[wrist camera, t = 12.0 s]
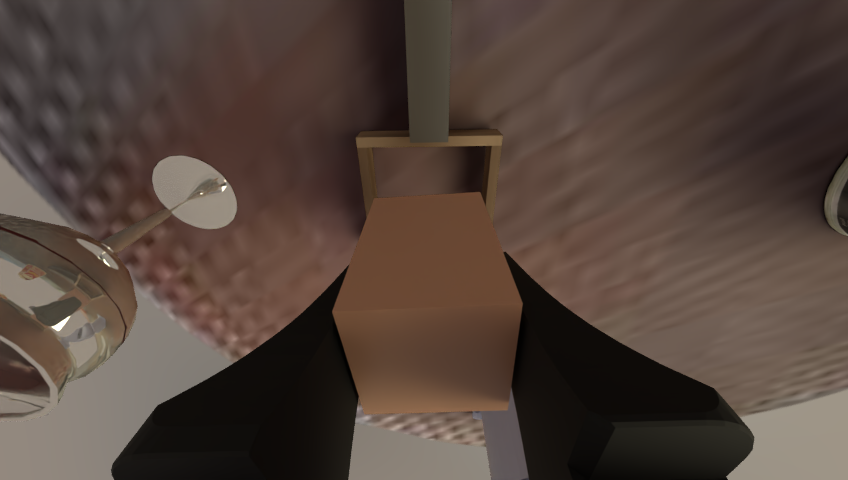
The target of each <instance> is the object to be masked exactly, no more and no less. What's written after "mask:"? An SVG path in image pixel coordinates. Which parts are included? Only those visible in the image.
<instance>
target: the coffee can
mask: <svg viewBox="0 0 848 480" xmlns="http://www.w3.org/2000/svg"><path fill="white" fill-rule="evenodd" d="M824 212H825V216H826V219H827V222H828V224H829V225H830V226H831V227H832V228H833V229H834V230H836V231H837V232H839V233H841V234H843V235H846V236H848V156H847V158H846V159H845V160H844V162H843V163H842V165H841V166H840V167H839V169H838V170H837V171H836V173H835V175H834V178H833V180H832V182H831V183H830V185H829V187H828V190H827V194H826V196H825V202H824Z"/></svg>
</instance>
